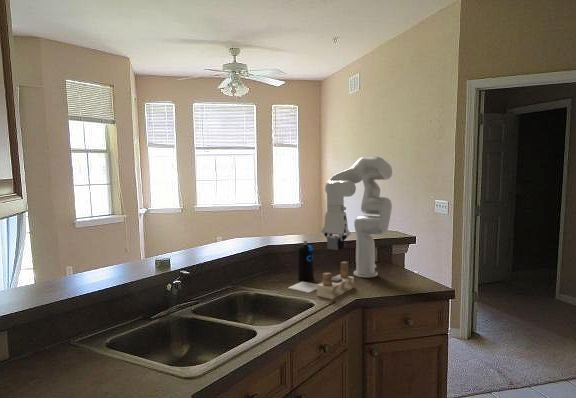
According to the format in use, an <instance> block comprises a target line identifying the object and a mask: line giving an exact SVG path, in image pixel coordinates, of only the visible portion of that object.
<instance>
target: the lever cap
mask: <svg viewBox="0 0 576 398" xmlns="http://www.w3.org/2000/svg"><path fill="white" fill-rule="evenodd" d="M339 241H340V238H339V235H337V234H334V235H332V236H330V237H328V238H326V244H327V245H326V248H327V249H328V250H335V251H339V250H340V249H339Z"/></svg>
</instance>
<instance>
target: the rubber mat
mask: <svg viewBox="0 0 576 398" xmlns="http://www.w3.org/2000/svg"><path fill="white" fill-rule="evenodd" d="M318 284H319V283H317V284H316V283H312V282H309V281H300V282H298V283H295V284H292V285H290V286H289V287H288V288H287V289H289V290H292V291H297V292H301V293H302V292H303V293H307V294H310V293H312V292H314V291H317V285H318Z"/></svg>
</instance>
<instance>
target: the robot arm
mask: <svg viewBox="0 0 576 398" xmlns="http://www.w3.org/2000/svg"><path fill="white" fill-rule="evenodd" d="M392 176H393V169H392V166H391V164H390V163H389V162H388V161H386V160H385V159H384V158H382V157H380V156H363V157H360V158H358V159H357V160H356V161H355V162H354V163H353V164H352V165H351V166H350V167H349V168H347V169H345V170H342V171H340V172H337V173H335V174H334V175H332V176H331V177H330V178H329V179H328V180H327V182H326V184H325V188H324V189H325V194H326V208H327V209H326V212H325V215H324V227H323V228H322V230H321V233H322V235H324V237H325V238H326V239H327V238H328V237H330V236H334V235H338V236H339V238H340V241H339V249H338V250H343V249H344V248H345V240H346V239H347V238H348V237H349V236H351V231H350V230H349V228H348V227H349V226H348V217H347V213H346V210H347V206H345V203H344V202H345V201H344V198H347V197H349V198H350V197H353V195H354V194H355V193H356V191H357V187H356V184H358V183H361V182H362V183H363V187H364V191H363V195H362V196H363V197H362V199H361V200H362V201H361V205H360V206H361V207H360V211H361V212H362V213H363V214H364V215H358V216H357V217H355V220H354V223H353V225H354V226H353V227H354V230H355V241H356V242H355V243H356V245H355V246H356V247H355V248H356V249H355V250H356V251H355V252H356V254H355V255H356V261H355V262H356V264H355V265H356V266H355V267H356V269H355V270H354V271H353V276H355V277H359V278H367V279H368V278H375V277H377V276H378V274H379V273H378V271H376V269H375V268H377V266H378V265H377V264H376V263H375V262H376V261H375V259H376V258H375V257H376V256H375V255H376V254H375V252H376V249H375V247H376V246H375V244H376V243H375V240H374V237H373V236H372V235H376V236H377V235H379V236H385V235H386V234H387V232H388V230H389V226H390V220H391V215H392V209H393V208H392V200H391V199H390V198H388V197H383V196H380V195H381V187H380V186H379V184H378V183H377V182H376V181H378V180H379V181H380V180H381V181H382V180H383V181H386V180H390V179H391V177H392Z"/></svg>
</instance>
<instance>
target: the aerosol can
mask: <svg viewBox="0 0 576 398" xmlns="http://www.w3.org/2000/svg"><path fill="white" fill-rule="evenodd" d="M297 259H298V260H297V262H298V263H297V264H298V265H297V267H298V268H297V269H298V272H297V273H298V274H297V275H298V277H297V280H298V281H300V282H302V281H303V282H310V281H311V282H312V281H314V280H315V279H314V247H312V245H309V244H308V240H303V244H301V245H300V246H299V247H298V248H297Z"/></svg>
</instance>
